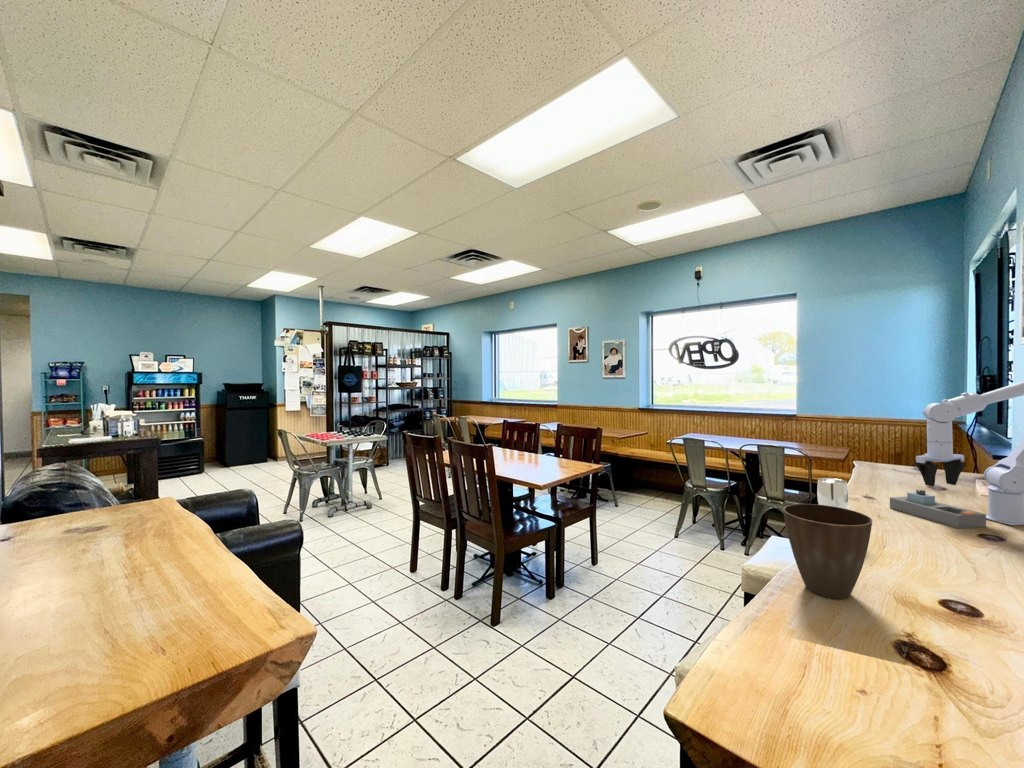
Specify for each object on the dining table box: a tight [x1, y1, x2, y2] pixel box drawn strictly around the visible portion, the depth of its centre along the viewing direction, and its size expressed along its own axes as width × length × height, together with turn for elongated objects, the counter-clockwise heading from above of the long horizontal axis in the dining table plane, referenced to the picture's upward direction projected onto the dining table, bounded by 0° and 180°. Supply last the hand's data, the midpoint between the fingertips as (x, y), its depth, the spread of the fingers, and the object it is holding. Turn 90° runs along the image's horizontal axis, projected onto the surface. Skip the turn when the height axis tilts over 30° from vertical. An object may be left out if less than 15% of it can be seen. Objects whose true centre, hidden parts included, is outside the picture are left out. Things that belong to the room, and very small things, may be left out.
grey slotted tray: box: [889, 496, 987, 529], centre depth 133 cm, size 9×20×4 cm, turn 6°
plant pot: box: [782, 503, 873, 600], centre depth 89 cm, size 15×15×16 cm
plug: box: [906, 489, 936, 505], centre depth 137 cm, size 4×5×7 cm
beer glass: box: [816, 477, 849, 509], centre depth 121 cm, size 7×7×15 cm
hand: (940, 485), depth 135 cm, fingers open, 7 cm apart
